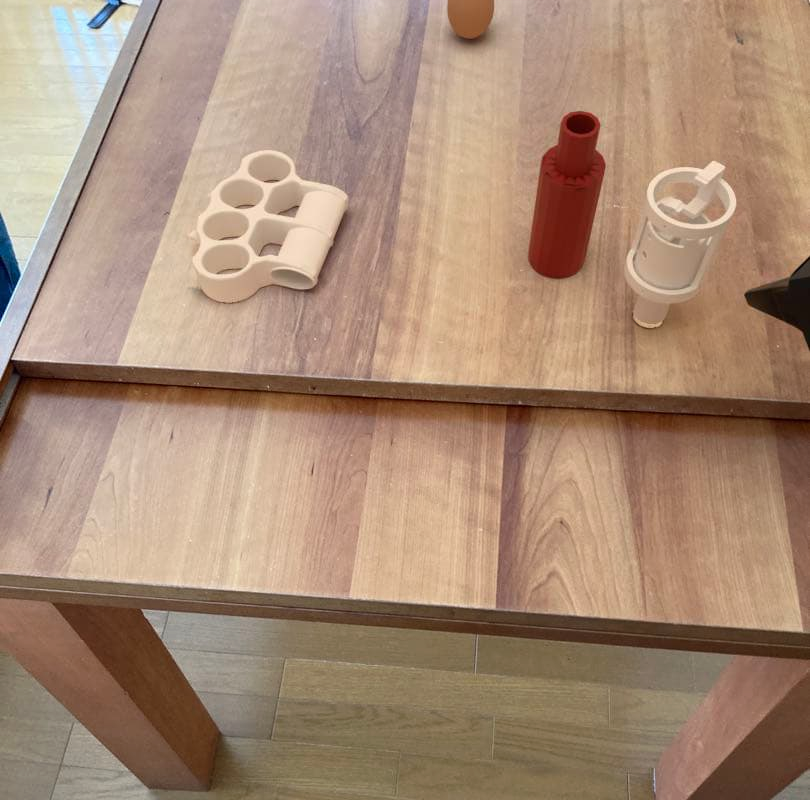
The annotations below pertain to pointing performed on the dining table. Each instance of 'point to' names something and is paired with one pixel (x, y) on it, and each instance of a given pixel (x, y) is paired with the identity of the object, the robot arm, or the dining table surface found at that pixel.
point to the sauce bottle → (567, 198)
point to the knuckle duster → (265, 229)
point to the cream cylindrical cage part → (676, 241)
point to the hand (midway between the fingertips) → (781, 264)
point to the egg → (470, 16)
